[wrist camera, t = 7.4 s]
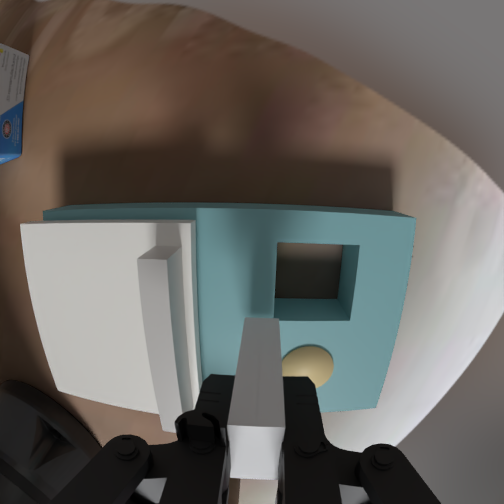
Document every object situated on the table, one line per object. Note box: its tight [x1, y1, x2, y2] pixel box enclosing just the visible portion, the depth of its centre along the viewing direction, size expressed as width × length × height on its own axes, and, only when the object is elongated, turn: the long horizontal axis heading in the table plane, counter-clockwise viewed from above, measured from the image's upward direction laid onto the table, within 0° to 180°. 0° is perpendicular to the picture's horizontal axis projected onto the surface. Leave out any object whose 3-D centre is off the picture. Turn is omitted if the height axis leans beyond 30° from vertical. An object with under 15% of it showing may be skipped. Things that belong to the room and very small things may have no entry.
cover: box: [20, 220, 202, 433], centre depth 14 cm, size 10×11×3 cm
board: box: [43, 202, 416, 412], centre depth 17 cm, size 20×12×3 cm, turn 89°
